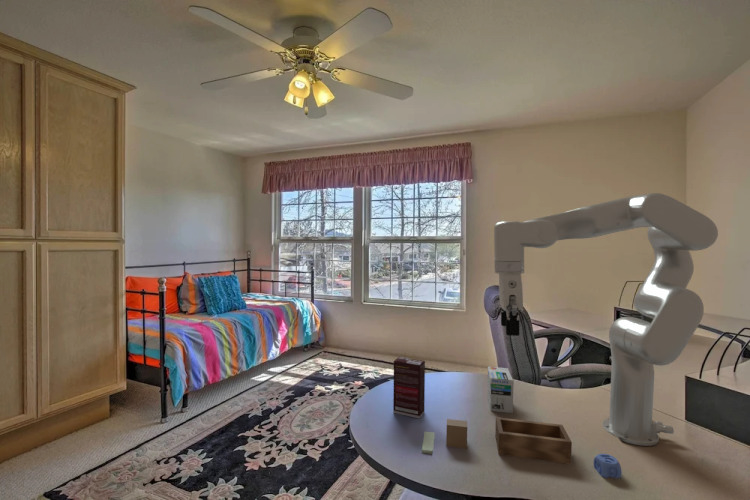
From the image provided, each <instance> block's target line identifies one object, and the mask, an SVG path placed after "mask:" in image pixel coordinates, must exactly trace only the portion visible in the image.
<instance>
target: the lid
mask: <svg viewBox="0 0 750 500" xmlns="http://www.w3.org/2000/svg"><path fill="white" fill-rule="evenodd" d="M435 434H436V432H433V431H424V432H423V441H422V447H421V453H423V454H430V455H432V454H433V453H434V445H435V444H434V443H435V437H436V435H435ZM445 436H446V437H445V438H446V442H445V446H446V447H452V448H457V449H458V448H459V449H465V450H466V449H467V448H468V421H467V420H460V419H459V420H458V419H450V418H447V419H446V435H445Z"/></svg>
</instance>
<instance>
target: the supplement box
mask: <svg viewBox="0 0 750 500" xmlns="http://www.w3.org/2000/svg"><path fill="white" fill-rule="evenodd" d="M425 373H426V361H425V360H423V359H415V358H409V357H403V356H399V357H397V358H396V359H394V361H393V401H392V402H393V404H392V405H393V406H392V407H393V412H392V413H393V414H398V415H402V416H406V417H410V418H411V417H412V418H415V419H418V420H419V419H421V418H422V416H423V415H424V413H425V398H426V397H425V391H426V390H425V387H426V385H425V384H426V381H425V380H426V379H425V377H426V375H425Z"/></svg>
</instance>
